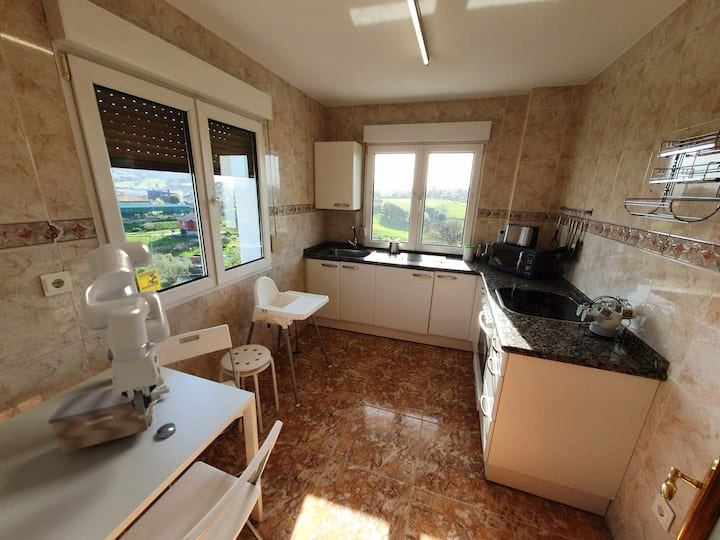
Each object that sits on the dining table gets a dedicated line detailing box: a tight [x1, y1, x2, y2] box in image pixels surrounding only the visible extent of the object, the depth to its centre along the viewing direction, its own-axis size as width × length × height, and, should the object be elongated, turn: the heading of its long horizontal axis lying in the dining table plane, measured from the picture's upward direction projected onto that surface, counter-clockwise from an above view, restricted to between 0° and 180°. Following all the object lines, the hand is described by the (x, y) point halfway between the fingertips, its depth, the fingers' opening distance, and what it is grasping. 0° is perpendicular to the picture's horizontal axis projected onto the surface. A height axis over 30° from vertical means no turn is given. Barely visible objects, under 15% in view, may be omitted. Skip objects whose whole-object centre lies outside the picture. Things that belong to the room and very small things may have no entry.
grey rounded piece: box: [156, 422, 177, 440], centre depth 91 cm, size 5×5×2 cm
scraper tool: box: [133, 390, 153, 419], centre depth 82 cm, size 2×10×8 cm, turn 26°
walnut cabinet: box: [47, 387, 154, 454], centre depth 86 cm, size 21×10×15 cm, turn 116°
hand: (143, 406), depth 81 cm, fingers closed on scraper tool, 1 cm apart
